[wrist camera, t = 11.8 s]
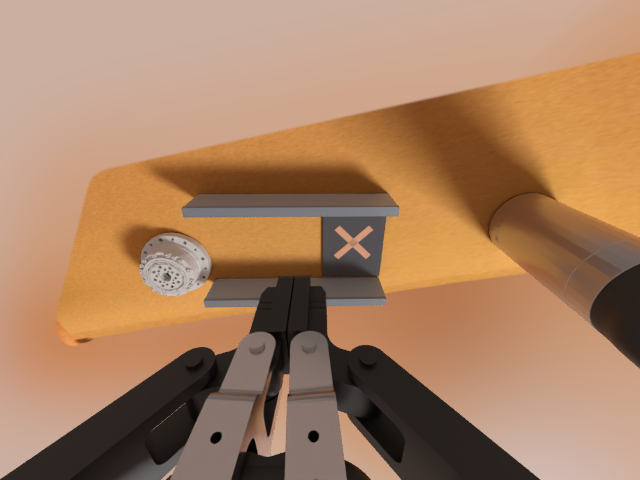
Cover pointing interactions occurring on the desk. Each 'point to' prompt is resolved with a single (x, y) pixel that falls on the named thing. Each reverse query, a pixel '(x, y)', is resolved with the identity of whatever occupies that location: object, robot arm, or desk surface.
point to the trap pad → (352, 245)
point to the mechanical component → (174, 264)
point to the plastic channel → (293, 205)
